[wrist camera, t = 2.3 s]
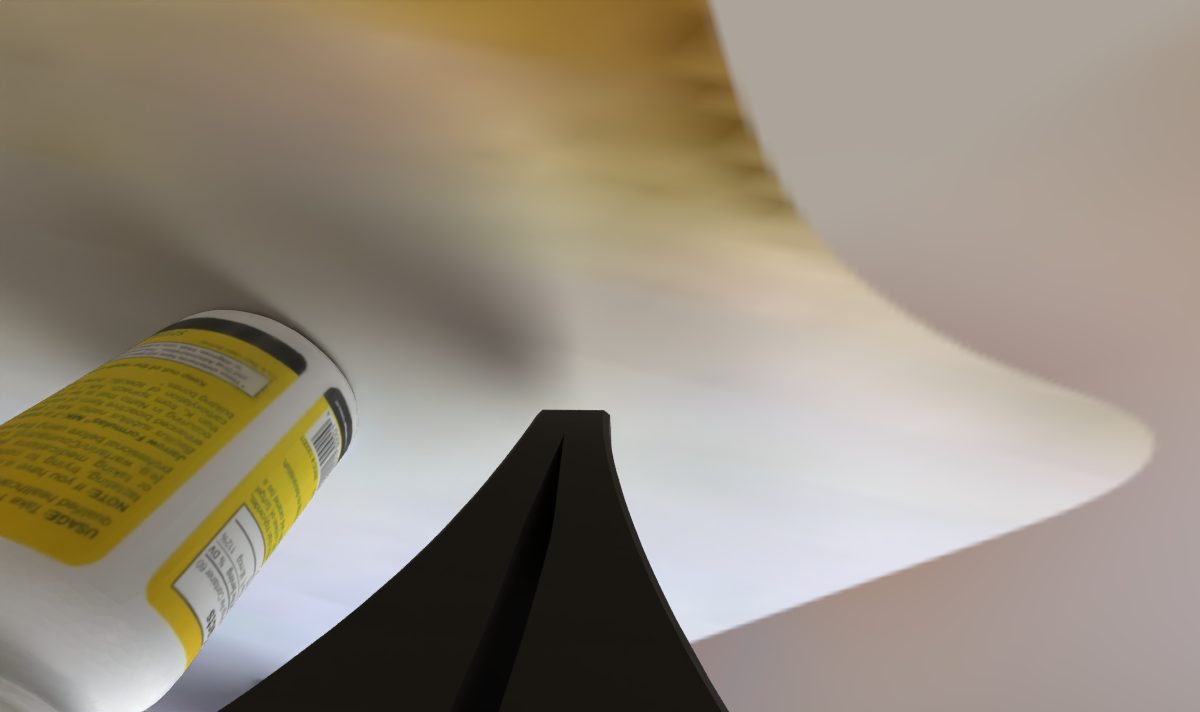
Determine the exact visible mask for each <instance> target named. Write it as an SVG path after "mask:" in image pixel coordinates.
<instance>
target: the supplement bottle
mask: <svg viewBox="0 0 1200 712" xmlns="http://www.w3.org/2000/svg"><path fill="white" fill-rule="evenodd" d="M357 424H358V410H357V404H356V400H355V397H354V394H353V392H352V390H351V388H350V386H349V384H348V382H347V380H346V379H345V377H344V376H343V374H342V373H341V372H340V370H339V369H338V368H337V367H336V365H335V364H334V363H333V362H332V361H331V360H330V359H329V358H328V357H327V356H326V355H325V354H324V353H323V352H322V351H321V350H319V349H318V348H317V347H316V346H315V345H314V344H312V343H311V342H310V341H309V340H307V339H306V338H305V337H303V336H302V335H300V334H299V333H297V332H296V331H294V330H292V329H291V328H289V327H287V326H285V325H283V324H281V323H279V322H277V321H275V320H272V319H269V318H267V317H263V316H260V315H257V314H252V313H248V312H243V311H235V310H212V311H206V312H201V313H197V314H194V315H191V316H188V317H186V318H184V319H182V320H180V321H178V322H176V323H174V324H172V325H170V326H168V327H166V328H164V329H163V330H161V331H159V332H157V333H156V334H154V335H153V336H151V337H150V338H148V339H147V340H145V341H143V342H141V343H140V344H138V345H136V346H135V347H133V348H131V349H129V350H128V351H126V352H124V353H123V354H121V355H119V356H118V357H116V358H114V359H113V360H111V361H109V362H107V363H106V364H104V365H102V366H101V367H99V368H98V369H96V370H94V371H92V372H90V373H89V374H87V375H85V376H84V377H82V378H80V379H79V380H77V381H75V382H74V383H72V384H70V385H69V386H67V387H65V388H63V389H62V390H60V391H58V392H57V393H55V394H53V395H52V396H50V397H48V398H46V399H45V400H43V401H41V402H40V403H38V404H36V405H35V406H33V407H31V408H29V409H28V410H26V411H24V412H23V413H21V414H19V415H18V416H16V417H14V418H13V419H11V420H9V421H7V422H6V423H4V424H2V425H1V426H0V712H142V711H144V710H146V709H147V708H149V707H150V706H152V705H153V704H154V703H156V702H157V701H158V700H159V699H160V698H161V697H162V696H163V695H164V694H166V693H167V692H168V691H169V689H170V688H171V687H172V686H173V685H174V684H175V682H176V681H177V680H178V679H179V678H180V677H181V675H182V674H183V673H184V672H185V670H186V669H187V668H188V666H189V665H190V663H191V662H192V661H193V659H194V658H195V657H196V655H197V654H198V653H199V651H200V650H201V649H202V647H203V646H204V645H205V643H206V642H207V641H208V639H209V638H210V636H211V635H212V633H213V632H214V631H215V629H216V628H217V627H218V625H219V624H220V623H221V621H222V620H223V619H224V617H225V616H226V614H227V613H228V612H229V610H230V609H231V608H232V606H233V605H234V603H235V602H236V601H237V599H238V598H239V597H240V595H241V594H242V592H243V591H244V590H245V588H246V587H247V586H248V584H249V583H250V582H251V580H252V579H253V578H254V576H255V575H256V574H257V572H258V571H259V570H260V568H261V567H262V565H263V564H264V563H265V561H266V560H267V558H268V557H269V556H270V555H271V553H272V552H273V551H274V549H275V548H276V546H277V545H278V544H279V542H280V541H281V540H282V538H283V537H284V536H285V534H286V533H287V532H288V530H289V529H290V527H291V526H292V524H293V523H294V522H295V520H296V519H297V518H298V516H299V515H300V514H301V512H302V511H303V510H304V508H305V507H306V505H307V504H308V503H309V501H310V500H311V498H312V497H313V496H314V494H315V493H316V492H317V490H318V489H319V488H320V486H321V485H322V483H323V482H324V481H325V479H326V478H327V477H328V475H329V474H330V472H331V471H332V469H333V468H334V466H335V465H336V464H337V463H338V462H339V460H340V459H341V458H342V456H343V455H344V454H345V452H346V451H347V449H348V448H349V446H350V444H351V443H352V441H353V438H354V436H355V434H356V430H357Z"/></svg>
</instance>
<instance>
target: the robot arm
mask: <svg viewBox="0 0 1200 712" xmlns="http://www.w3.org/2000/svg"><path fill="white" fill-rule="evenodd" d="M218 712H729V711H728V710H727V708H726V706H725V705H724V703H723V701H722V700H721V698H720V696H719V695H718V693H717V691H716V690H715V688H714V686H713V685H712V683H711V681H710V680H709V678H708V676H707V674H706V672H705V671H704V669H703V667H702V665H701V663H700V662H699V660H698V658H697V656H696V654H695V652H694V651H693V649H692V647H691V645H690V643H689V642H688V640H687V638H686V636H685V634H684V632H683V631H682V629H681V627H680V625H679V623H678V622H677V620H676V618H675V616H674V614H673V612H672V610H671V608H670V606H669V604H668V602H667V600H666V598H665V596H664V594H663V592H662V589H661V587H660V585H659V583H658V581H657V579H656V577H655V574H654V572H653V570H652V568H651V566H650V563H649V561H648V559H647V557H646V554H645V552H644V550H643V547H642V545H641V542H640V540H639V537H638V535H637V532H636V529H635V527H634V524H633V521H632V519H631V516H630V513H629V511H628V508H627V505H626V502H625V499H624V496H623V492H622V489H621V485H620V482H619V478H618V475H617V472H616V468H615V464H614V459H613V454H612V447H611V427H610V415H609V414H608V413H607V412H605V411H604V410H542V411H541V412H540V413H539V414H538V415H537V416H536V417H535V419H534V420H533V422H532V423H531V424H530V426H529V427H528V429H527V430H526V431H525V433H524V434H523V435H522V437H521V438H520V439H519V441H518V442H517V443H516V445H515V446H514V447H513V449H512V450H511V451H510V453H509V454H508V455H507V456H506V458H505V459H504V460H503V461H502V463H501V464H500V465H499V466H498V468H497V469H496V470H495V471H494V472H493V474H492V475H491V476H490V477H489V479H488V480H487V481H486V482H485V483H484V485H483V486H482V487H481V488H480V489H479V491H478V492H477V493H476V494H475V495H474V496H473V497H472V498H471V499H470V501H469V502H468V503H467V504H466V505H465V506H464V507H463V508H462V509H461V510H460V512H459V513H458V514H457V515H456V516H455V517H454V518H453V519H452V520H451V521H450V523H449V524H448V525H447V526H446V527H445V528H444V529H443V530H442V531H441V532H440V533H439V534H438V535H437V536H436V537H435V538H434V539H433V540H432V541H431V542H430V543H429V544H428V545H427V546H426V547H425V548H424V549H423V550H422V551H421V552H420V553H419V554H418V555H417V556H415V557H414V558H413V559H412V560H411V561H410V562H409V563H408V564H407V565H406V566H405V567H404V568H403V569H402V570H401V571H399V572H398V573H397V574H396V575H395V576H394V577H393V578H391V579H390V580H389V581H388V582H387V583H386V584H385V585H383V586H382V587H381V588H380V589H379V590H378V591H377V592H375V593H374V594H373V595H372V596H371V597H370V598H368V599H367V600H366V601H365V602H364V603H363V604H362V605H360V606H359V607H358V608H357V609H356V610H354V611H353V612H352V613H351V614H349V615H348V616H347V617H346V618H345V619H343V620H342V621H341V622H340V623H338V624H337V625H336V626H335V627H333V628H332V629H331V630H329V631H328V632H327V633H325V634H324V635H323V636H321V637H320V638H319V639H318V640H316V641H315V642H314V643H312V644H311V645H310V646H308V647H307V648H306V649H304V650H303V651H302V652H300V653H299V654H298V655H296V656H295V657H294V658H292V659H291V660H290V661H288V662H287V663H286V664H284V665H283V666H282V667H280V668H279V669H278V670H276V671H275V672H274V673H272V674H271V675H270V676H268V677H267V678H265V679H264V680H263V681H261V682H260V683H259V684H257V685H256V686H254V687H253V688H251V689H250V690H249V691H247V692H246V693H244V694H243V695H241V696H240V697H239V698H237V699H236V700H234V701H233V702H231V703H230V704H228V705H227V706H225V707H224V708H222V709H221V710H219V711H218Z"/></svg>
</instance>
